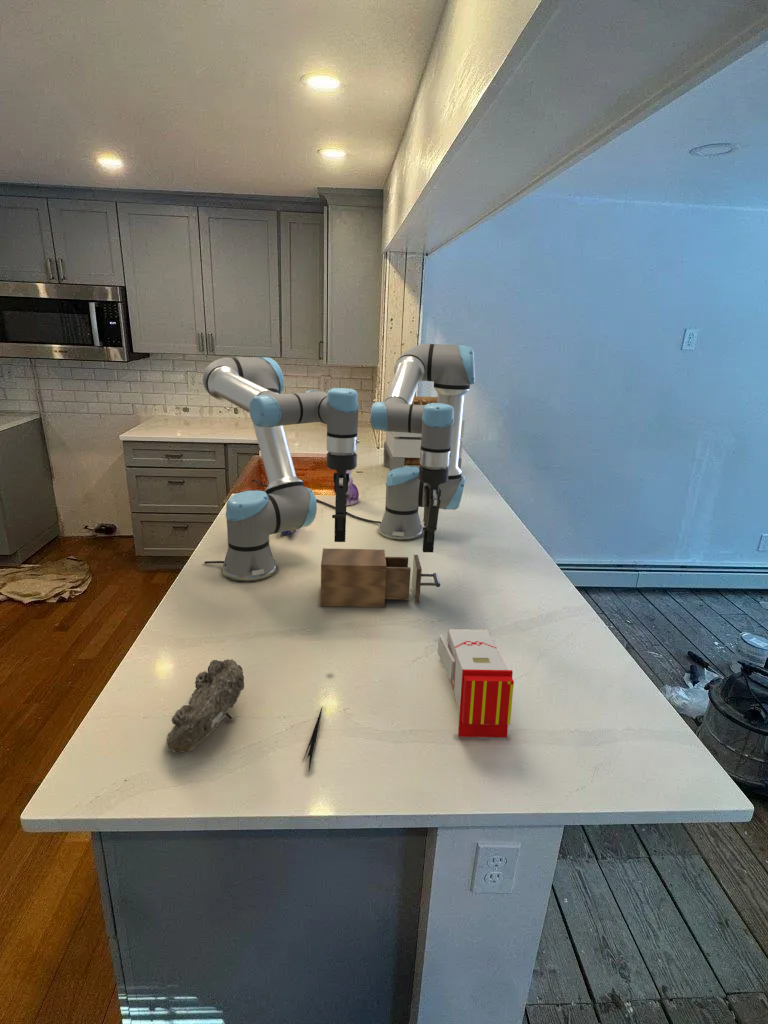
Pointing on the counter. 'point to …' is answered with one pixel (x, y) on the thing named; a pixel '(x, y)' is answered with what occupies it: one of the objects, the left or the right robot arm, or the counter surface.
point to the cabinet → (353, 577)
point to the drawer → (405, 578)
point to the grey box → (409, 443)
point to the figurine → (351, 491)
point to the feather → (313, 740)
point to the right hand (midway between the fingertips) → (427, 551)
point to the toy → (478, 682)
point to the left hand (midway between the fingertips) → (340, 531)
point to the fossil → (206, 705)
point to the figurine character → (288, 532)
